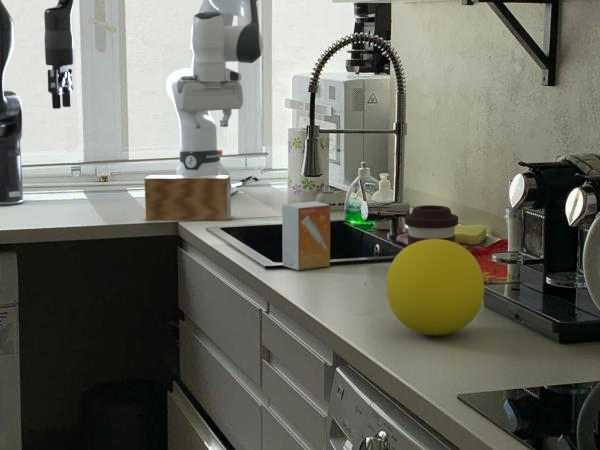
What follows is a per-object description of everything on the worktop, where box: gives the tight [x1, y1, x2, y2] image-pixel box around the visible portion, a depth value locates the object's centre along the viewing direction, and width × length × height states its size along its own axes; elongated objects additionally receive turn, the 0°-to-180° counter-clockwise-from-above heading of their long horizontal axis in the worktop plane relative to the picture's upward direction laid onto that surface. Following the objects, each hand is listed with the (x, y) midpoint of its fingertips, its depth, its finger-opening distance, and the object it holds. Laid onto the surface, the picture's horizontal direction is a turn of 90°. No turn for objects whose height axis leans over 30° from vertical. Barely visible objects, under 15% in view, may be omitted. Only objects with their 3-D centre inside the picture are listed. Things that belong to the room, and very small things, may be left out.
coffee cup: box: [404, 204, 459, 246], centre depth 197 cm, size 10×10×15 cm
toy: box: [385, 239, 485, 336], centre depth 164 cm, size 15×15×15 cm
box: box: [144, 174, 232, 221], centre depth 280 cm, size 22×6×11 cm, turn 85°
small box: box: [281, 200, 331, 271], centre depth 216 cm, size 8×6×13 cm
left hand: (62, 107), depth 285 cm, fingers open, 8 cm apart
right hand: (210, 127), depth 276 cm, fingers open, 8 cm apart
